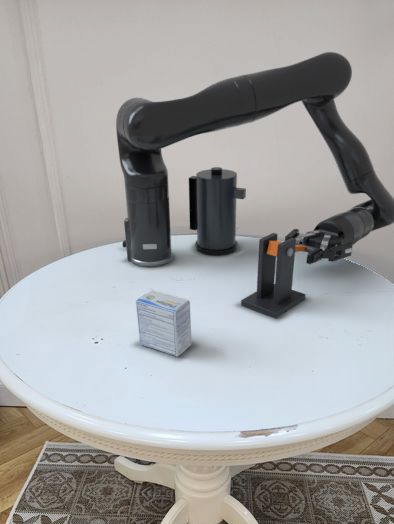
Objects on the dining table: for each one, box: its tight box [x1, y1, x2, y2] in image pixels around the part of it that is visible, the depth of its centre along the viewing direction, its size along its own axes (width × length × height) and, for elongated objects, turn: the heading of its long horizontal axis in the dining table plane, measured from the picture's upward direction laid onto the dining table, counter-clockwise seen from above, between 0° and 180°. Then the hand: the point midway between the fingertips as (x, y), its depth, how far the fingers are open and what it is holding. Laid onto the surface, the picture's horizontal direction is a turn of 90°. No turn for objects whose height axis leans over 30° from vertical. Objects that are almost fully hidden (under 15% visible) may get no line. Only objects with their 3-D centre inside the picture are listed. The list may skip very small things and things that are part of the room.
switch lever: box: [267, 240, 316, 258], centre depth 100 cm, size 12×5×2 cm, turn 138°
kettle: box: [188, 166, 247, 257], centre depth 122 cm, size 13×10×18 cm
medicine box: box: [135, 289, 193, 357], centre depth 87 cm, size 8×4×9 cm, turn 58°
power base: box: [240, 232, 306, 319], centre depth 99 cm, size 10×8×13 cm
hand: (295, 255), depth 102 cm, fingers closed on switch lever, 5 cm apart
